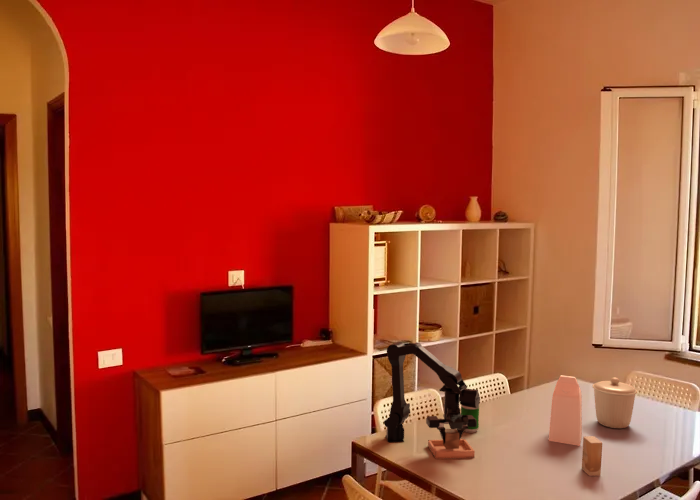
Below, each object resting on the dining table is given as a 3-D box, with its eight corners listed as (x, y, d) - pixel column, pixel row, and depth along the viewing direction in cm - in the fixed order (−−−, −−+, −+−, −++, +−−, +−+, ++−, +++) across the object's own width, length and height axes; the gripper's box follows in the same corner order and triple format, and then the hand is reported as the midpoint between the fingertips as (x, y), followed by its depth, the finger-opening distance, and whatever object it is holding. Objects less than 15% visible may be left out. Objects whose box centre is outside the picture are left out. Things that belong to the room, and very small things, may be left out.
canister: (590, 428, 258) (592, 380, 257) (591, 415, 275) (592, 370, 274) (637, 434, 252) (639, 385, 250) (634, 421, 268) (636, 374, 267)
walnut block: (446, 449, 228) (446, 433, 227) (442, 443, 233) (443, 428, 232) (458, 448, 228) (459, 433, 228) (455, 443, 233) (455, 428, 233)
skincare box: (581, 468, 217) (582, 435, 216) (592, 468, 217) (593, 435, 216) (589, 476, 210) (591, 442, 210) (601, 476, 211) (602, 442, 210)
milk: (581, 436, 249) (584, 375, 247) (579, 445, 238) (582, 382, 237) (551, 431, 254) (553, 371, 252) (548, 440, 244) (550, 378, 242)
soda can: (478, 434, 250) (479, 406, 249) (460, 432, 251) (461, 404, 250) (478, 427, 257) (479, 400, 256) (460, 426, 258) (461, 399, 258)
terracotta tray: (435, 458, 224) (435, 452, 224) (428, 446, 236) (428, 440, 236) (474, 457, 225) (474, 451, 225) (464, 445, 237) (465, 439, 237)
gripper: (433, 411, 220) (432, 452, 221) (482, 410, 222) (480, 450, 223) (426, 401, 231) (425, 440, 232) (472, 400, 234) (471, 439, 235)
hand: (450, 443), depth 230 cm, fingers closed on walnut block, 5 cm apart
